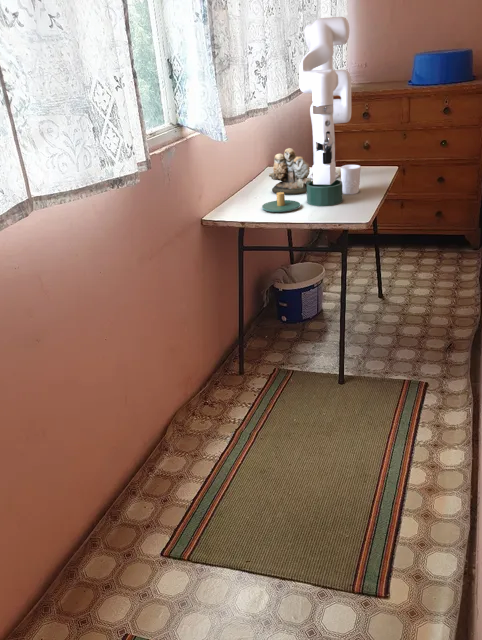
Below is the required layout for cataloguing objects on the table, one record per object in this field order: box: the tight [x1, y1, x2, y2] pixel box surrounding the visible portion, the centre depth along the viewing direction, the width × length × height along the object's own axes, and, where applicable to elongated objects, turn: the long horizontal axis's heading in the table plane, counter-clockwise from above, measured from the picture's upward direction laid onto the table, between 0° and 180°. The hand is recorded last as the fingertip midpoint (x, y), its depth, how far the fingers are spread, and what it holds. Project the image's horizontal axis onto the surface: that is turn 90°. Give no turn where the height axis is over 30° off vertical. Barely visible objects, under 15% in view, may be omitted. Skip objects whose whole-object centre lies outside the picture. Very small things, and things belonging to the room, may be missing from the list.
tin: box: [306, 179, 344, 207], centre depth 234 cm, size 14×14×7 cm
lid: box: [261, 191, 301, 213], centre depth 230 cm, size 15×15×6 cm
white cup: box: [340, 164, 362, 195], centre depth 243 cm, size 8×8×10 cm
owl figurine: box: [268, 147, 312, 196], centre depth 249 cm, size 18×12×17 cm, turn 76°
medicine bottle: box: [312, 149, 337, 185], centre depth 229 cm, size 7×7×12 cm
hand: (324, 161), depth 228 cm, fingers closed on medicine bottle, 6 cm apart
